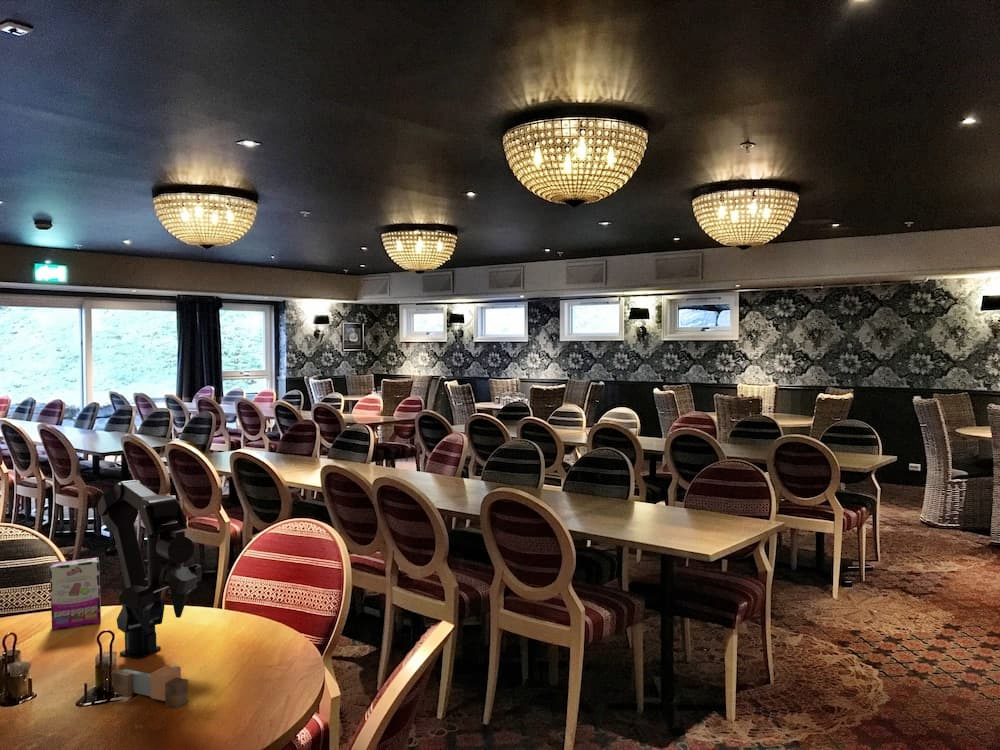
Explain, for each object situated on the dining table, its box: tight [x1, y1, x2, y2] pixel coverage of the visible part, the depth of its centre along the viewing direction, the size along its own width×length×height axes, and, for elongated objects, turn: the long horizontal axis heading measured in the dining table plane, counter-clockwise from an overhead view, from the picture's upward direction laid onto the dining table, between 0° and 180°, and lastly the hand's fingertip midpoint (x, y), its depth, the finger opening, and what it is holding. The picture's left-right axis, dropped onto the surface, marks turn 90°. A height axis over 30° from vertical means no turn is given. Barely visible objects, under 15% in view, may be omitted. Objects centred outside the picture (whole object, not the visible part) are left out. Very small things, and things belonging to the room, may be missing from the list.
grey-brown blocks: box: [111, 669, 189, 709], centre depth 159 cm, size 20×3×4 cm, turn 69°
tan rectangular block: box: [149, 665, 182, 702], centre depth 157 cm, size 4×4×5 cm
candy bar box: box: [49, 556, 102, 631], centre depth 200 cm, size 11×5×16 cm, turn 117°
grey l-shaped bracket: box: [121, 665, 181, 697], centre depth 162 cm, size 10×7×4 cm
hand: (162, 624), depth 172 cm, fingers open, 9 cm apart
